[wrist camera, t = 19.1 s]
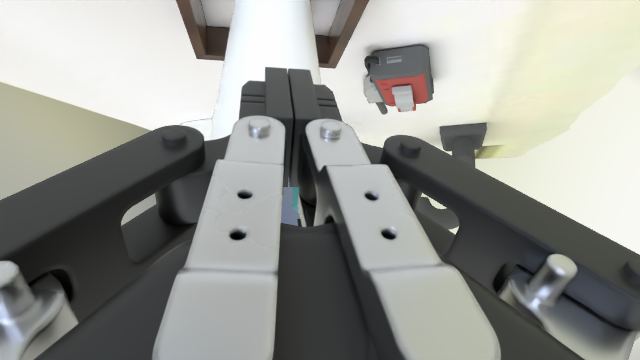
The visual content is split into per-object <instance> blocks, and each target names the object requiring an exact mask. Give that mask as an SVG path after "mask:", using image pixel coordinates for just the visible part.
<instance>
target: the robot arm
mask: <svg viewBox="0 0 640 360" xmlns="http://www.w3.org/2000/svg"><path fill="white" fill-rule="evenodd" d="M288 177H289V183H290V187H299V195H298V210H299V215H300V220H301V224H302V227H300V226H294V225H289V224H284V223H281V205H282V196H283V188H284V187H288ZM154 193H155V197H156V202H157V204H156V205H154V206H153V207H151V208H150V209H148V210H146V211H145V212H143V213H141V214H140V215H139V216H137V217H135V218H133V219H132V220H130V221H129V222H127V223H126V224H124V225H122V226H121V220H122V218H123V216H124V214H125V213H126V212H127V210H129V209H130V208H131V207H132V206H134V205H136V204H137V203H139V202H141V201H142V200H144V199H146V198H147V197H149V196H151V195H152V194H154ZM422 193H424V194H425V195H427V196H429V197H430V198H432V199H434V200H435V201H437V202H439V203H440V204H442V205H443V206H445V207H447V208H448V209H450V210H451V211H453V212H454V213H455V215H456V216H457V218H458V220H459V229H458V231H457V233H456V235H455V234H453V233H452V232H450V231H449V230H447V229H446V228H444V227H443V226H441V225H439V224H438V223H436V222H435V221H433V220H432V219H430V218H429V217H427V216H426V215H424V214H422V213H421V212H419V211H418V210H416V208H417V206H418V203H419V200H420V197H421V195H422ZM639 337H640V255H639V254H637V253H635V252H633V251H631V250H629V249H627V248H626V247H623V246H622V245H620V244H618V243H616V242H614V241H612V240H610V239H609V238H607V237H605V236H603V235H601V234H599V233H597V232H595V231H593V230H591V229H590V228H588V227H586V226H584V225H582V224H580V223H578V222H576V221H574V220H572V219H570V218H569V217H567V216H565V215H563V214H561V213H559V212H557V211H556V210H554V209H552V208H550V207H548V206H546V205H544V204H542V203H540V202H538V201H537V200H535V199H533V198H531V197H529V196H527V195H525V194H523V193H521V192H520V191H518V190H516V189H514V188H512V187H510V186H508V185H506V184H504V183H503V182H501V181H499V180H497V179H495V178H493V177H491V176H489V175H487V174H485V173H484V172H482V171H480V170H478V169H476V168H474V167H472V166H470V165H468V164H467V163H465V162H463V161H461V160H459V159H457V158H455V157H453V156H451V155H450V154H448V153H446V152H444V151H442V150H440V149H438V148H436V147H434V146H433V145H431V144H429V143H427V142H425V141H423V140H421V139H418V138H416V137H412V136H407V135H395V136H391V137H389V138H388V139H386V141H385V143H384V147H383V148H380V147H376V146H371V145H367V144H364V143H361V142H360V141H359V139H358V137H357V135H356V133H355V131H354V129H353V128H352V127H351V126H349V125H348V124H346V123H344V122H342V119H341V116H340V113H339V109H338V107H337V103H336V101H335V97H334V94H333V92H332V91H331V90H330V89H329V88H328V87H326V86H325V85H317V84H313V80H312V76H311V72H310V70H306V69H291V68H288V73H287V68H276V67H265V81H252V80H249V81H248V82H247V83H245V84H244V85H243V86H242V90H241V100H240V110H239V120H238V121H236V122H235V123H234V125H233V128H232V132H231V134H230V135H228V136H226V137H223V138H220V139H215V140H208V141H204V136H203V134H202V133H201V132H200V131H199V130H197V129H195V128H192V127H189V126H182V125H172V126H165V127H161V128H158V129H155V130H153V131H151V132H149V133H147V134H144V135H142V136H140V137H138V138H136V139H134V140H131V141H129V142H127V143H125V144H122V145H120V146H118V147H116V148H114V149H112V150H109V151H107V152H105V153H103V154H101V155H98V156H96V157H94V158H92V159H90V160H88V161H85V162H83V163H81V164H79V165H77V166H74V167H72V168H70V169H68V170H66V171H64V172H62V173H59V174H57V175H55V176H53V177H50V178H48V179H46V180H44V181H42V182H39V183H37V184H35V185H33V186H31V187H29V188H26V189H24V190H22V191H20V192H18V193H16V194H13V195H11V196H9V197H7V198H4V199H2V200H0V360H628V359H629V356H630V353H631V349H632V347H633V344H634V341H635V340H637V339H638V338H639Z"/></svg>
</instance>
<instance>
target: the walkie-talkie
mask: <svg viewBox="0 0 640 360" xmlns="http://www.w3.org/2000/svg"><path fill="white" fill-rule="evenodd" d="M365 66H366V68H367V70H368V72H369V74H370V75H369V76H367V77H366V78H365V79H364V94H365V96H366V98H367V101H368V103H376V104H377V106H378V108H379V110H380V111H381V113H382V114H386V113H387V112H388V110H387V108H386V106H385V104H386V105H389V106H397V108H398V111H399V112H405V111H416V104H421V103H426V102H428V101H430V100H432V99H433V97H432V94H433V93H434V86H433V78H431V69H430V60H429V50H428V48H427V47H424V46H420V45H417V46H410V47H403V48H396V49H389V50H382V51H376V52H374V53H373V54H372V55H370V56H367V57H366V58H365Z"/></svg>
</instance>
